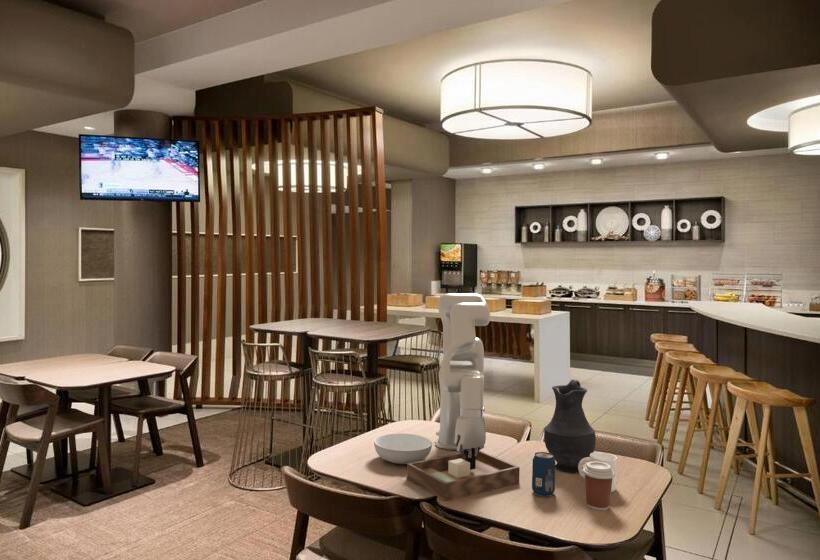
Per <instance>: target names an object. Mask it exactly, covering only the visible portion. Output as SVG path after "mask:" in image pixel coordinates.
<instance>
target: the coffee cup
mask: <svg viewBox="0 0 820 560" xmlns="http://www.w3.org/2000/svg"><path fill="white" fill-rule="evenodd" d="M611 468H612V467H611V466H610V465H609V464H606V463H603V462H595V461H594V462H586V465H585V466H583V473H584V474H585V479H584V480H585V481H584V482H585V485H584V486H585V499H586V500H585V501H586V507H589V508H590V509H592V510H596V511H607V510H609V509H610V503H611V495H612V494H611V493H612V492H611V487H612V478H614V477H615V472H614V471H613V470H612V469H611Z"/></svg>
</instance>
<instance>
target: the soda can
mask: <svg viewBox="0 0 820 560" xmlns="http://www.w3.org/2000/svg"><path fill="white" fill-rule="evenodd" d="M555 465H556V460H555V459H554V455H553V454H551V453H549V452H548V451H547V452H546V451H538V452H535V453H534V456H533V458H532V465H531V466H532V470H531V473H532V474H531V489H532V492H533V493H534V494H535V496H539V497H543V498H544V497H545V498H546V497H547V498H548V497H551V496H553V494H554V493H555V491H556V468H555Z"/></svg>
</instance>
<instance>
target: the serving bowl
mask: <svg viewBox="0 0 820 560" xmlns="http://www.w3.org/2000/svg"><path fill="white" fill-rule="evenodd" d="M373 446H374V450H375V452H376V454H377V455H378V456H379V457H380V458H381V459H382V460H384V461H386V462H390V463H393V464H397V465H407V464H408V463H413V462H418V461H423V460H426V458H427V457H428V456H429V455H430V454H431V450H432V447H433V442H432V440H430V438H427V437H425V436H422V435H419V434H413V433H404V432H403V433H400V432H399V433H397V432H396V433H389V434H383V435H379V436H377V437H375V439H374V440H373Z"/></svg>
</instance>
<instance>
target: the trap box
mask: <svg viewBox="0 0 820 560" xmlns="http://www.w3.org/2000/svg"><path fill="white" fill-rule="evenodd" d="M460 458H461V459H463V460H465V458H466V456H464V454H463V453H459V452H457V453H454V454H449V455H443V456H438V457H434V458H430V459H423V460H421V461H418V462H413V463H408V464H406V480H408V481H410V482H411V483H413V484H415V485H417V486H419V487H420V488H422V489H424V490H426V491H427V492H429V493H431V494H433V495H434V496H436V497H437V498H439V499H441V500H443V501H445V502H448V501H451V500H456V499H460V498H463V497H468V496H471V495H472V496H473V495H475V494H479V493H483V492H488V491H490V490H491V491H492V490H495V489H498V488H503V487H507V486H510V485H514V484H518V483H520V466H518V465H516V464H513V463H511V462H508V461H506V460H504V459H501V458H499V457H497V456H494V455H492V454H489V453H486V452H484V451H483V450H479V452H478V454H477V457H476V461H475V469H472V470H470V475H468V476H464V477H459V478H457V477H455V476H453V475H451V474H449V473H448V461H450V460H455V459H460Z"/></svg>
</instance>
